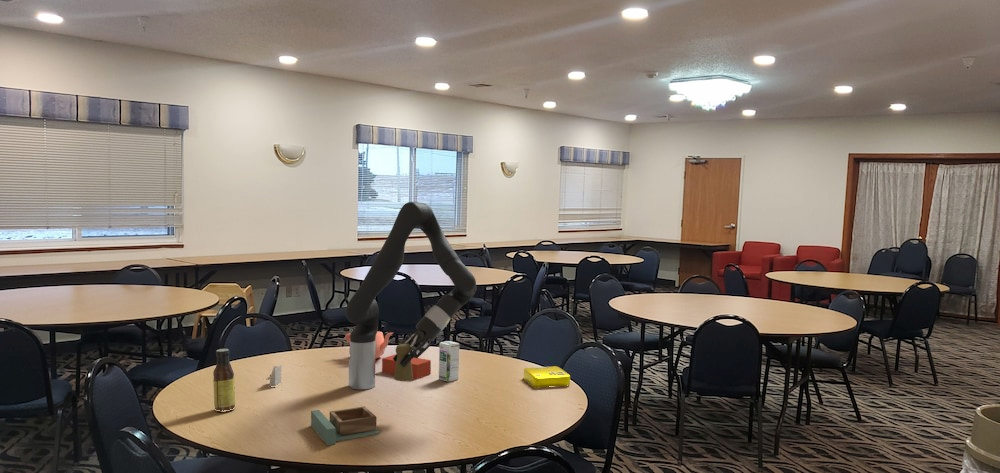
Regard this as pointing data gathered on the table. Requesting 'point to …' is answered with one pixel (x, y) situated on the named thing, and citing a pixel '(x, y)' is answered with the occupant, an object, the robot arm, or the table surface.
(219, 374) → the sauce bottle
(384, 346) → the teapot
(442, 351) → the syrup box
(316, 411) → the track and backstop
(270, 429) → the table surface
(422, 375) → the brick
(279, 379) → the architectural model
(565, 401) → the table surface
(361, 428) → the wooden tray
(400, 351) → the olive knob
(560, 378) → the element tile
